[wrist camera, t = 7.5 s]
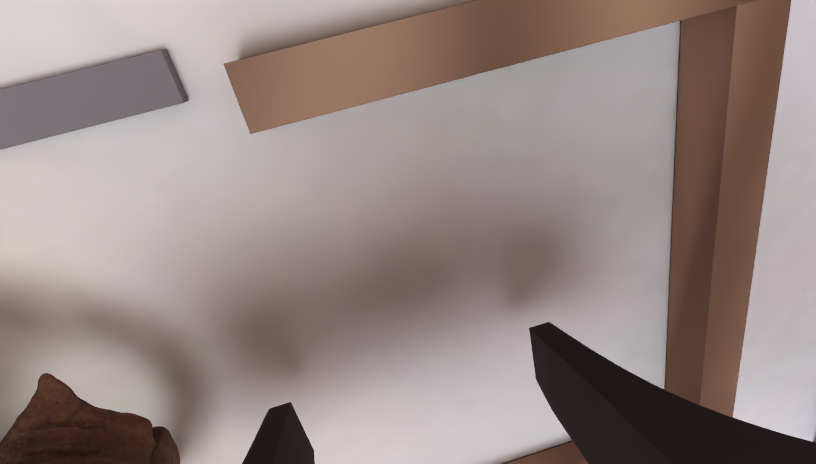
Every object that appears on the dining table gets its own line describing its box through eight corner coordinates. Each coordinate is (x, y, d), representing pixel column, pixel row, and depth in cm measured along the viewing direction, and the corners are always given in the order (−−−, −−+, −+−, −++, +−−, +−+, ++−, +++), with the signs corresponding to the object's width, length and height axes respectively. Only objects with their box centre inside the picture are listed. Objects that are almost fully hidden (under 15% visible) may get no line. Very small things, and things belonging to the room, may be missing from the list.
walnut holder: (735, -65, 12) (802, -82, 10) (693, 423, 20) (726, 458, 18) (238, 60, 11) (223, 63, 9) (408, 519, 19) (416, 564, 17)
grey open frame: (166, 49, 10) (161, 49, 10) (378, 538, 19) (379, 548, 19) (-566, 230, 9) (-602, 238, 9) (12, 662, 18) (6, 675, 18)
